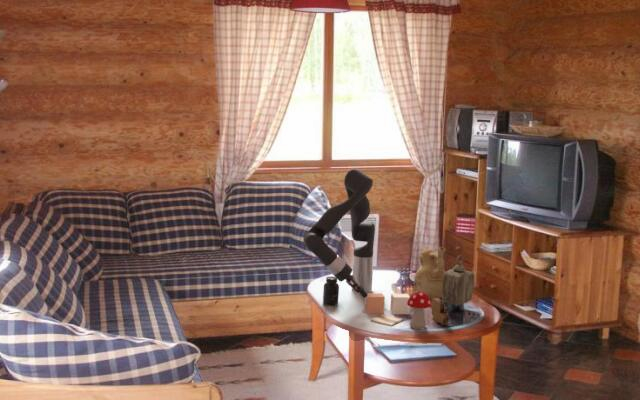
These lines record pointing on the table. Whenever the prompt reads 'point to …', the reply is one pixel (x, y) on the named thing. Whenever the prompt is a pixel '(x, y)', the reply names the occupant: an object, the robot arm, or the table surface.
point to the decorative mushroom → (419, 309)
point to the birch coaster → (386, 319)
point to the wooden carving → (439, 311)
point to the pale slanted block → (400, 304)
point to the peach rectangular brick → (374, 303)
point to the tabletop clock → (457, 285)
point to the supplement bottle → (331, 291)
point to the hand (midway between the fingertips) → (364, 294)
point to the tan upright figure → (431, 273)
